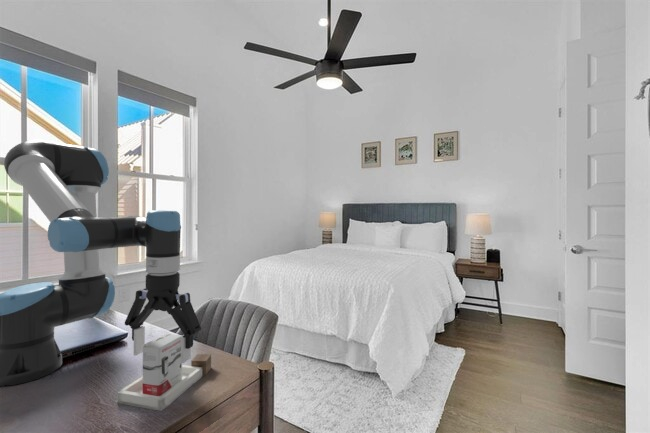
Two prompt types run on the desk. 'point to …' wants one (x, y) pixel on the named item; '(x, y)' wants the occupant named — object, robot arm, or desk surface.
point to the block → (202, 362)
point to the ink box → (161, 364)
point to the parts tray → (137, 398)
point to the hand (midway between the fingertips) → (161, 356)
